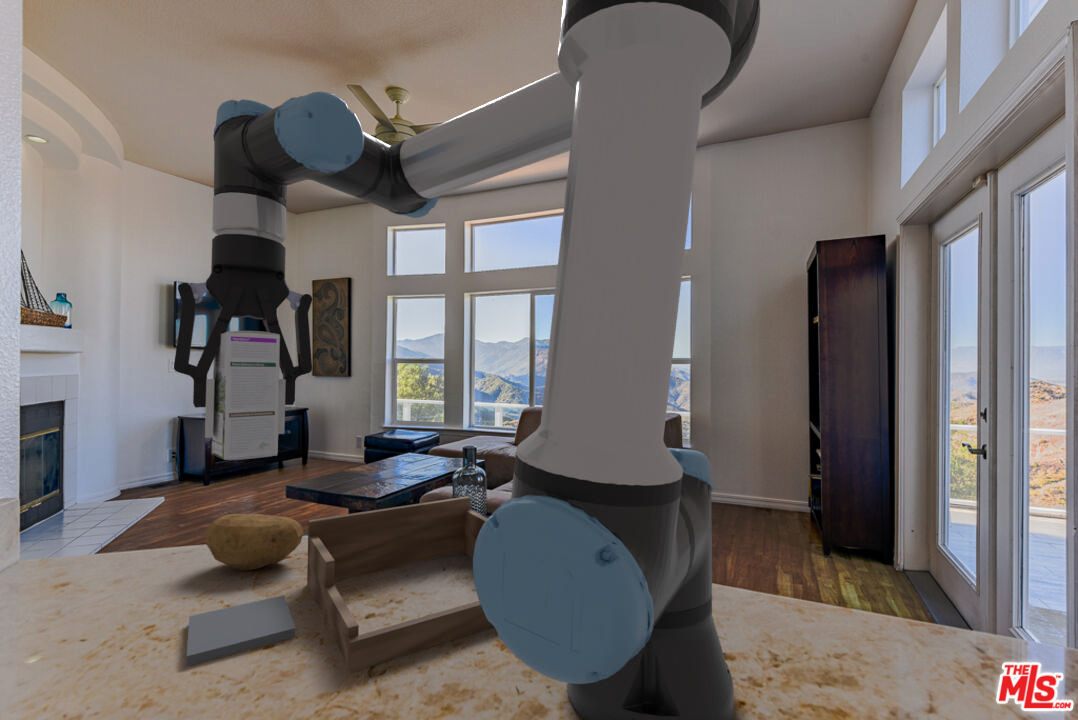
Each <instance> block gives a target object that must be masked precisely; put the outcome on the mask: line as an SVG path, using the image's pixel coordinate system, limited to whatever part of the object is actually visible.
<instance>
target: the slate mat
mask: <svg viewBox="0 0 1078 720" xmlns="http://www.w3.org/2000/svg"><path fill="white" fill-rule="evenodd" d="M293 638H296V626H295V622H294V620H293V616H292V615H291V611H290V608H289V607H288V603H287V600H286V597H285V594H282V595H278V596H274V597H270V598H265V599H261V600H260V599H259V600H255V601H252V602H247V603H242V604H239V605H232V606H229V607H225V608H221V609H216V610H212V611H211V610H210V611H206V612H201V613H198V614H193V615H189V617H188V632H187V643H186V644H187V645H186V647H187V648H186V667H188V666H192V665H193V666H194V665H197V664H200V663H204V662H208V661H211V660H214V659H218V658H222V657H226V656H230V655H234V654H238V653H241V652H244V651H248V650H252V649H256V648H260V647H263V646H266V645H270V644H274V643H277V642H282V641H285V640H289V639H293Z"/></svg>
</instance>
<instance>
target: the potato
mask: <svg viewBox="0 0 1078 720" xmlns="http://www.w3.org/2000/svg"><path fill="white" fill-rule="evenodd" d="M303 529H304V528H303V526H302V525H301V524H300V522H298V521H297V520H295V519H293V518H290V517H289V516H288V517H287V516H280V515H279V516H277V515H271V514H270V515H269V514H261V513H249V514H248V513H231V514H226V515H225V514H224V515H223V516H220V517H217V519H215V520H213V522H211V524H210V525H208V527H207V528H206V532H205V534H204V535H205V536H204V537H205V543H206V546H207V548H208V549H209V551H210V552H211V555H212V556H213V558H214V559H215V560H216V561H218V562H219V563H221V564H224V565H226V566H229V567H232V568H234V569H237V570H241V571H242V570H243V571H252V570H257V569H260V568H262V567H265V566H269V565H274V564H278V563H280V562H282V561H284V560H285V559H286V558H287V557H288V556H289V555H290V554H291V553H293V552H294V550H296V548H298V546H300V544H301V543H302V539H303V535H304V530H303Z"/></svg>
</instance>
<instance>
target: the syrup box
mask: <svg viewBox="0 0 1078 720" xmlns="http://www.w3.org/2000/svg"><path fill="white" fill-rule="evenodd" d="M279 352H280V335H279V334H275V333H269V332H267V331H261V330H260V331H258V330H255V331H254V330H237V331H236V330H234V331H233V330H232V331H230V330H229V331H226V332H225V333H223V334H221V344H220V346H219V348H218V351H217V353H216V355H215V357H214V360H213V373H212V375H213V376H212V377H213V378H212V379H215V382H214V418H213V438H211V455H213V456H215V457H217V458H219V459H221V460H224V461H234V460H236V461H237V460H249V459H250V460H251V459H257V458H258V459H259V458H260V459H261V458H269V457H273V456H274V457H277V456H278V453H279V449H278V448H279V446H278V445H279V434H278V423H279V379H280V366H279Z"/></svg>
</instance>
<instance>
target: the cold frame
mask: <svg viewBox="0 0 1078 720" xmlns="http://www.w3.org/2000/svg"><path fill="white" fill-rule="evenodd" d="M488 518H489V517H487V516H484V515H483V514H480V513H478V512H476V511H474V510H472V509H471V497H470V496H462V497H457V498H456V497H455V498H449V499H442V500H435V501H427V502H422V503H421V502H420V503H414V504H407V505H401V506H394V507H388V508H380V509H375V510H367V511H361V512H354V513H348V514H342V515H341V514H340V515H334V516H327V517H321V518H315V519H314V518H313V519H309V520H308V521H307V524H308V525H307V564H306V565H307V566H306V567H307V572H306V573H307V574H306V577H307V578H306V581H307V582H306V584H307V587H308V590H309V592H310V593H311V595H312V597H313V599H314V602H315V604H316V606H317V607H318V610H319V612H320V614H321V616H322V618H323V619H324V620H323V621H324V622H325V624H326V626H327V628H328V631H329V632H330V634H331V636H332V638H333V641H334V642H335V645H336V647H337V649H338V651H339V653H340V655H341V657H342V660H343V661H344V664H345V666H346V668H347V670H348V672H349V673H350V674H352V673H355V672H356V673H357V672H359V671H362V670H364V669H368V668H371V667H374V666H377V665H380V664H383V663H386V662H390V661H391V660H395V659H399V658H401V657H404V656H408V655H410V654H414V653H417V652H420V651H423V650H427V649H428V648H432V647H436V646H438V645H441V644H444V643H448V642H450V641H455V640H457V639H460V638H462V637H466V636H469V635H472V634H475V633H477V632H481V631H485V630H487V629H491V628H493V627H494V626H493V625H492V623H490V622H489V621H488V620H487V618H486V616H485V613H484V611H483V609H482V607H481V604H480V601H479V600H476V601H474V602H473V601H472V602H469V603H467V604H463V605H459V606H456V607H452V608H449V609H448V608H447V609H446V610H442V611H438V612H435V613H432V614H428V615H425V616H421V617H417V618H414V619H411V620H406V621H404V622H403V621H402V622H399V623H397V624H393V625H389V626H385V627H383V628H380V629H379V628H378V629H375V630H372V631H368V632H364V633H362V634H359V627H360V626H359V623H358V622H357V620H356V619H355V617H354V615H353V613H352V612H351V610H350V608H349V607H348V605H347V603H346V602H345V600H344V599H343V597H342V596H341V594H340V592H339V590H338V589H337V587H336V586H335V582H336V581H340V580H346V579H350V578H355V577H359V576H363V575H368V574H373V573H378V572H382V571H385V570H386V571H387V570H391V569H396V568H400V567H405V566H410V565H415V564H418V563H423V562H428V561H432V560H438V559H441V558H445V557H449V556H451V557H452V556H455V555H460V554H463V553H465V554H466V555H467V554H468V556H469V557H470V556H471V557H470V558H472V557H473V554H474V548H475V543H476V540H477V537H478V534H479V532H480V530H481V528H482V526H483V525H484V523H485V522H486V520H487V519H488ZM494 628H495V627H494Z"/></svg>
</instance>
